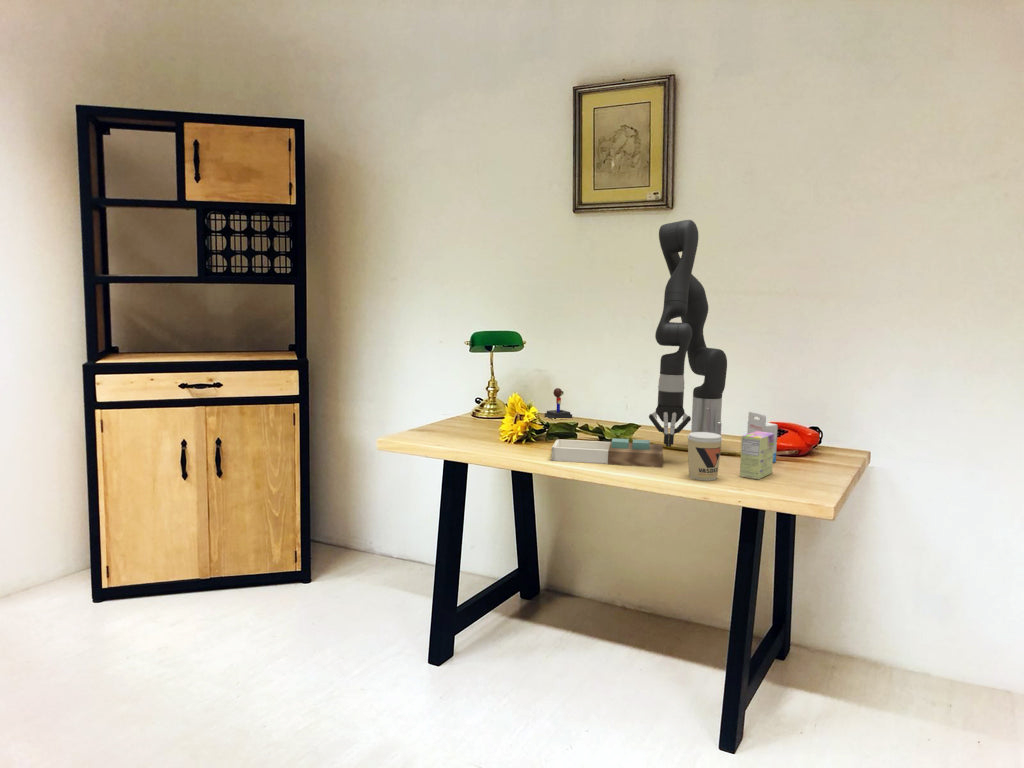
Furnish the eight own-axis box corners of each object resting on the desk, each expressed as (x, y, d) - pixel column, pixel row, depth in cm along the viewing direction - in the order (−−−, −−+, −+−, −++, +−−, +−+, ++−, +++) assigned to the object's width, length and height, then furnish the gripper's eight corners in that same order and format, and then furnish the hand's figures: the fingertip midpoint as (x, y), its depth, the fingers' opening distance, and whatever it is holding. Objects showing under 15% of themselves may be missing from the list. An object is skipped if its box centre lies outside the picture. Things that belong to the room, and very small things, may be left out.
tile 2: (649, 446, 233) (649, 440, 233) (649, 449, 228) (649, 443, 228) (632, 445, 234) (633, 439, 234) (632, 449, 229) (632, 442, 229)
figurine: (572, 418, 304) (573, 388, 303) (554, 420, 300) (555, 389, 298) (562, 415, 310) (562, 386, 309) (544, 417, 306) (545, 387, 305)
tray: (610, 454, 240) (610, 441, 239) (607, 463, 227) (608, 450, 227) (556, 451, 243) (556, 439, 242) (551, 460, 230) (551, 447, 230)
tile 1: (628, 445, 234) (628, 439, 234) (628, 448, 230) (628, 442, 229) (612, 444, 235) (612, 438, 235) (611, 447, 231) (611, 441, 230)
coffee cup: (696, 482, 207) (698, 438, 206) (679, 473, 216) (681, 432, 215) (726, 480, 210) (728, 437, 208) (709, 472, 219) (711, 431, 217)
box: (753, 470, 222) (755, 430, 221) (772, 473, 219) (775, 433, 217) (738, 476, 214) (741, 435, 213) (758, 480, 211) (761, 438, 209)
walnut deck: (661, 456, 238) (662, 444, 237) (662, 467, 224) (663, 453, 223) (610, 454, 240) (610, 441, 240) (607, 464, 227) (608, 450, 226)
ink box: (776, 462, 232) (779, 414, 230) (763, 463, 230) (766, 415, 228) (758, 456, 240) (760, 410, 238) (745, 457, 238) (747, 411, 236)
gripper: (693, 388, 230) (690, 445, 232) (648, 386, 233) (646, 442, 235) (694, 391, 223) (691, 450, 225) (648, 389, 225) (645, 447, 227)
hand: (668, 446), depth 230 cm, fingers closed
